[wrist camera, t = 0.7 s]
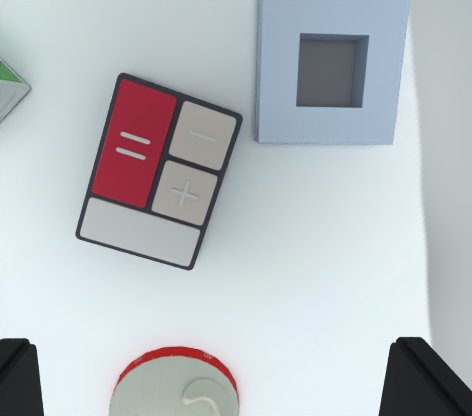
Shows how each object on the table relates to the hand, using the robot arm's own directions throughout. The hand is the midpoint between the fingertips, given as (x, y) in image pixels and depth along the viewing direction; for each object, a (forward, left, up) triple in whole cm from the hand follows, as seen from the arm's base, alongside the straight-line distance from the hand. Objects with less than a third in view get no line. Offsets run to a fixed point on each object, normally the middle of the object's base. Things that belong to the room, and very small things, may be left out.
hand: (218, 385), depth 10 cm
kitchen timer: (+25, -4, -28) cm, 37 cm away
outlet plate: (-10, +10, -27) cm, 31 cm away
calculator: (-1, -5, -28) cm, 28 cm away
